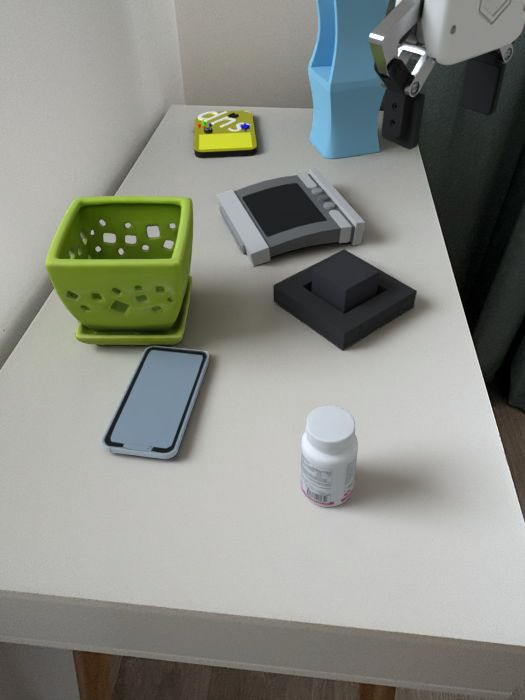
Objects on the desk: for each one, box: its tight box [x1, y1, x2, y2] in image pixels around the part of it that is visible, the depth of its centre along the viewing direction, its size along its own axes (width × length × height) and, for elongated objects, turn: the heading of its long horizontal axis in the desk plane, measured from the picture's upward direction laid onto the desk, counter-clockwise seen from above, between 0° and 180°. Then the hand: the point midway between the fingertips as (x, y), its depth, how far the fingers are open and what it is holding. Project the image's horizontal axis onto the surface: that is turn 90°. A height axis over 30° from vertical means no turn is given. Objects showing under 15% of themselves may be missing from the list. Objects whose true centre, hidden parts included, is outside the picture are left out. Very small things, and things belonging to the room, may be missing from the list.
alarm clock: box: [216, 168, 366, 267], centre depth 89 cm, size 17×5×16 cm
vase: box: [307, 0, 390, 160], centre depth 102 cm, size 10×10×25 cm
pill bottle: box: [299, 405, 359, 508], centre depth 53 cm, size 5×5×8 cm
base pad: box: [272, 248, 418, 351], centre depth 75 cm, size 12×12×2 cm
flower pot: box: [44, 195, 194, 346], centre depth 70 cm, size 14×14×13 cm
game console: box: [193, 109, 258, 159], centre depth 114 cm, size 18×11×2 cm, turn 5°
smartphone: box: [101, 345, 210, 460], centre depth 64 cm, size 7×1×15 cm
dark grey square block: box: [312, 252, 379, 314], centre depth 74 cm, size 6×6×4 cm
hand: (439, 125), depth 50 cm, fingers open, 9 cm apart
